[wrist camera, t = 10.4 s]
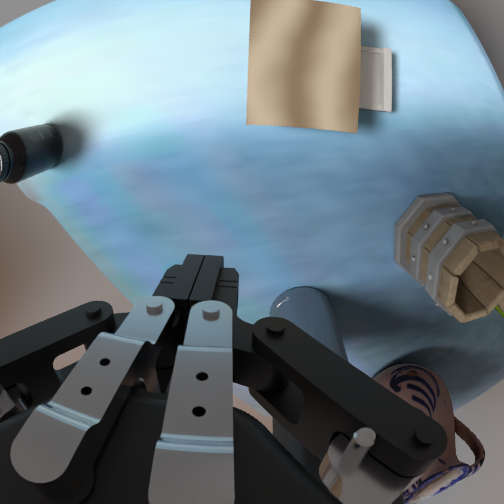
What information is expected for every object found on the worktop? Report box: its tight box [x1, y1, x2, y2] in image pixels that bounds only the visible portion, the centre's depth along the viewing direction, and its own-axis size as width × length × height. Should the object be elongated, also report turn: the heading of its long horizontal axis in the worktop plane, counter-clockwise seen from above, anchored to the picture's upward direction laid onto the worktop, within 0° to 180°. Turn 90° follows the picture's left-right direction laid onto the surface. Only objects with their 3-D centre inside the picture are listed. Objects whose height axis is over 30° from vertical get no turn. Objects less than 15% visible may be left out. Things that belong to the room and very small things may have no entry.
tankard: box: [394, 193, 504, 323], centre depth 33 cm, size 20×13×15 cm, turn 55°
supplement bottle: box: [0, 124, 62, 184], centre depth 30 cm, size 7×7×12 cm
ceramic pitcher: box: [372, 364, 485, 504], centre depth 40 cm, size 18×21×25 cm
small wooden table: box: [246, 0, 361, 133], centre depth 28 cm, size 11×14×7 cm
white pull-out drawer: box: [359, 45, 392, 112], centre depth 30 cm, size 15×8×2 cm, turn 90°
